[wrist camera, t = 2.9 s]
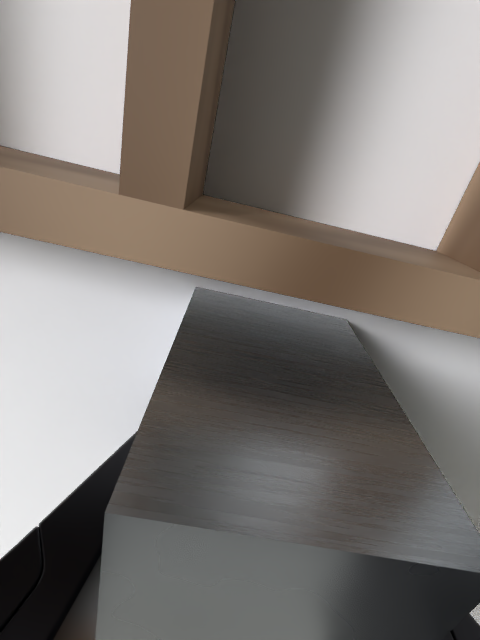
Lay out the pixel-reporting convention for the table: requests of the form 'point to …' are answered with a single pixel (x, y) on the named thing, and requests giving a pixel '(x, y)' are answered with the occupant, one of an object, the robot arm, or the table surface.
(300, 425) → the grey brushed metal block
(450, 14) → the table surface
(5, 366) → the table surface
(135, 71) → the slot rack
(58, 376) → the table surface
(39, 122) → the table surface
